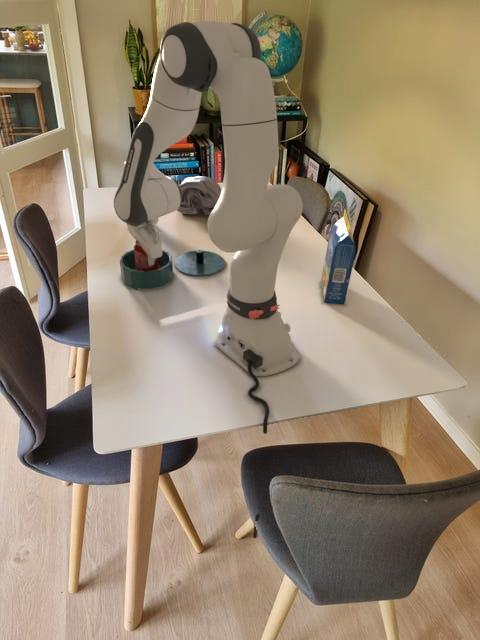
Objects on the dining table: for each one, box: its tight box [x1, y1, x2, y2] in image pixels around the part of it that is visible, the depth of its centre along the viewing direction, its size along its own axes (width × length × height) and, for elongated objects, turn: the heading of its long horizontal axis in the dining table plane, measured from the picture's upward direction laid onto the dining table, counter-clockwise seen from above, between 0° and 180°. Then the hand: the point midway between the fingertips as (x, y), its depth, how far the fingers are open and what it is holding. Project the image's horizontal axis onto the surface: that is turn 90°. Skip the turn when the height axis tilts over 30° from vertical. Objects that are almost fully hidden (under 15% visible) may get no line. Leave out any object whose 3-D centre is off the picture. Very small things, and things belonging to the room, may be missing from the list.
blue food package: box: [320, 209, 357, 306], centre depth 130 cm, size 6×12×25 cm, turn 176°
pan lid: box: [173, 249, 226, 277], centre depth 146 cm, size 17×17×5 cm
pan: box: [119, 248, 174, 291], centre depth 138 cm, size 16×16×6 cm
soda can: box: [133, 240, 159, 271], centre depth 136 cm, size 7×7×12 cm
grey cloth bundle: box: [175, 175, 222, 216], centre depth 179 cm, size 20×18×15 cm
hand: (146, 258), depth 136 cm, fingers closed on soda can, 6 cm apart
